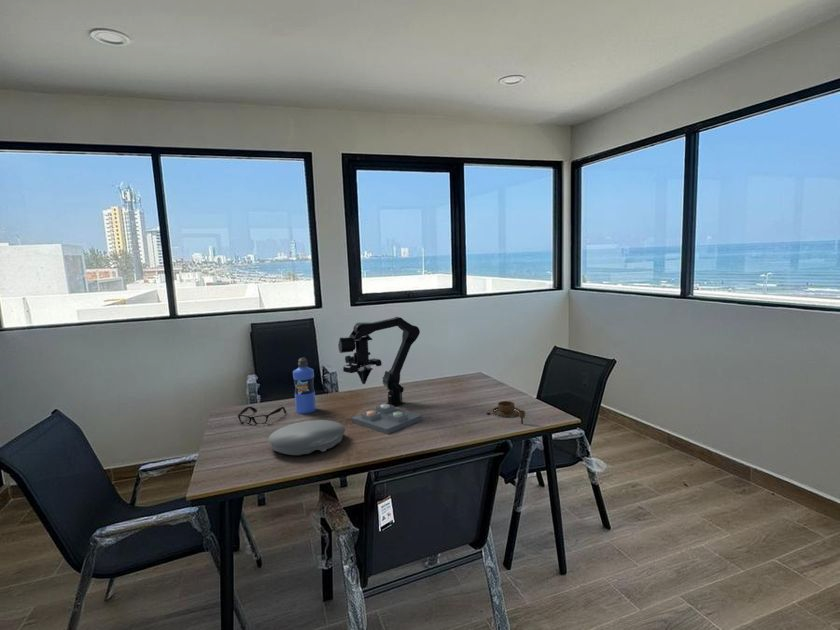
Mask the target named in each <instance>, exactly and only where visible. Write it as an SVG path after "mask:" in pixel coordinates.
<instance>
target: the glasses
mask: <svg viewBox="0 0 840 630" xmlns="http://www.w3.org/2000/svg"><path fill="white" fill-rule="evenodd" d="M249 409H250V410H251V411H252V412H253V413H256V412H258V409H257V408H255V407H252V406H247V407H245V408H244V409H242V410H241V411H240V412H239V413H238V414H237V417H238V420H239V422H240V423H241V424H244V423H246V425H250V424H251V423H252V422H253V423H254V424H255V425H263V424H264V423H265V424H266V423H267V422H268V421H269V419H268V418H269V417H270V416H272V415H274V414H277V413H280V412H281V411H283V413H286V411H287V410H286V408H285V407H284V406H281V407H278V408H276V409H274V411H272V412H270V413H267V414H260V415H255V416H248V415H244V413H246V412H247V411H248V410H249ZM255 411H256V412H255ZM241 417H244V418H245V417H246V418H248V419H249V421H248V422H244V421H242V419H241ZM260 417H264V418H265V421H264V422H262V423H261V422H260V423H259V422H257V421H256V418H260ZM265 424H264V425H265Z"/></svg>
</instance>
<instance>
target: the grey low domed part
mask: <svg viewBox="0 0 840 630" xmlns="http://www.w3.org/2000/svg"><path fill="white" fill-rule="evenodd" d="M345 432H346V428H345V425H343V424H342V423H340V422H337V421H334V420H327V419H326V420H324V419H323V420H322V419H321V420H320V419H318V420H317V419H316V420H315V419H313V420H305V421H301V422H296V423H291V424H288V425H285V426H283V427H281V428H278V429H277V430H275V431H273V432H272V433H271V434H270V435H269V437H268V443H269V444H270V445H271V447H272V450H273V451H275V452H278V453H280V454H284V455H288V456H301V455H309V454H311V453H312V452H315V451H317V450H318V451H320V452H322V453H323V452H326V451H327V449H328V450H329V449H331V448H333V447H334V446H336V445H337V444H339V443H341V441H342V439H343V437H344V436H343V435H344V433H345Z"/></svg>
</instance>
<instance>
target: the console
mask: <svg viewBox="0 0 840 630" xmlns="http://www.w3.org/2000/svg"><path fill="white" fill-rule="evenodd" d="M386 403H387V402H385V403H384V404H386ZM381 405H382V404H380V405H377V406H375V409H373V410H372V409H370V411H376V414H375V415H372V416H369V415H366V412H367V411H365V412H363V413H361V414H359V415H355V416H352V417H351V423H352V424H356V425H359V426H362V427H365V428H368V429H370V430H374V431H377V432H380V433H383V434H386V435H389V434H392V433H393V432H396V431H397V430H401V429H403V428H405V427H408V426H410V425H412V424H415V423H417V422H420V421H422V419H423V418H422V415H421V414H417V413H414V412H410V411H406V410H404V409H400V408H396V406H393V405H390V407H388V408H386V409H384V408H381ZM398 411H399V412H403V415H401V416H399V417H396V416H393V413H394V412H398Z"/></svg>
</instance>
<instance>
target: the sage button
mask: <svg viewBox="0 0 840 630" xmlns="http://www.w3.org/2000/svg"><path fill="white" fill-rule="evenodd" d="M401 415H403V412H399V411H398V412H394V413H393V416H396V417H399V416H401Z"/></svg>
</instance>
